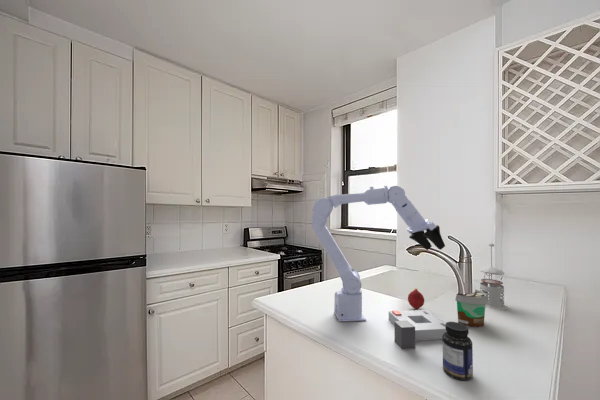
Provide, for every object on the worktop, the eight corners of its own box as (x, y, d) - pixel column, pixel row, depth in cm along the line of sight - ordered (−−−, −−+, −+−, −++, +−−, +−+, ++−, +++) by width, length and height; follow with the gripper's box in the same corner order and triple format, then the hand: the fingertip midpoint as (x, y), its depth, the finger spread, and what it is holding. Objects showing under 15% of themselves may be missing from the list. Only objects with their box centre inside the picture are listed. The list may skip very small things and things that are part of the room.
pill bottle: (459, 364, 64) (459, 319, 64) (479, 380, 58) (479, 331, 58) (436, 366, 63) (436, 320, 64) (454, 382, 57) (454, 332, 58)
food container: (475, 332, 81) (474, 300, 81) (455, 324, 86) (455, 294, 87) (496, 324, 87) (495, 294, 87) (476, 317, 92) (476, 289, 92)
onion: (426, 313, 95) (426, 291, 96) (409, 311, 97) (409, 290, 97) (422, 307, 101) (422, 286, 101) (406, 305, 102) (406, 285, 102)
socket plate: (410, 340, 75) (410, 328, 75) (388, 320, 89) (388, 309, 89) (454, 338, 77) (454, 326, 77) (426, 318, 91) (426, 308, 91)
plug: (401, 349, 71) (401, 327, 71) (394, 342, 75) (394, 321, 75) (415, 348, 71) (415, 326, 71) (407, 341, 75) (407, 320, 75)
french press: (480, 307, 101) (480, 244, 102) (473, 298, 112) (472, 240, 113) (511, 311, 98) (510, 245, 98) (501, 301, 108) (500, 242, 109)
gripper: (430, 205, 83) (458, 240, 81) (408, 212, 97) (431, 242, 95) (414, 217, 82) (442, 253, 80) (394, 223, 96) (417, 253, 94)
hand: (435, 248), depth 87 cm, fingers open, 7 cm apart
